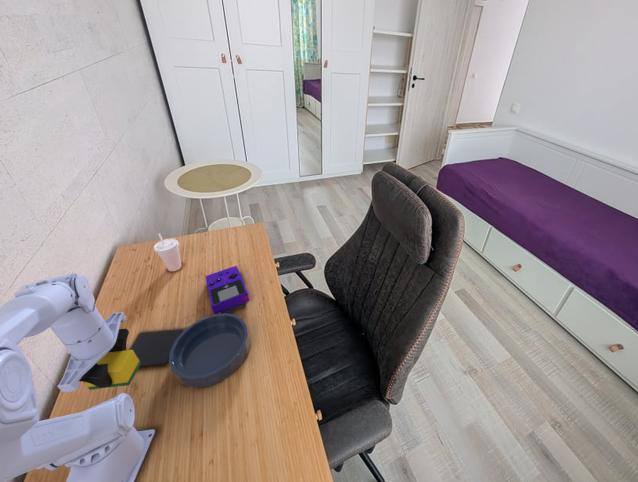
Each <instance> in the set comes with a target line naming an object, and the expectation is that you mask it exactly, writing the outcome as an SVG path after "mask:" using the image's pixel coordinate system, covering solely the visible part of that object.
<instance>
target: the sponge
mask: <svg viewBox="0 0 638 482" xmlns="http://www.w3.org/2000/svg"><path fill="white" fill-rule="evenodd" d="M97 364H98V365H99V364H108V373H109V375H110V377H111V379H112V385H111V386H109V387H101V388H99V387H97V386H95V385H93V384H90V383H87V382H82V383H83V384H84V385H85V386H86V388H87V389H88V390H101V389H107V388H117V387H124V386H125V387H126V386H130V385H131V383H132V382H133V379H134V377H135V376H136V374H137V372H138V370H139V368H141V367H140V365H141V362H140V361H139V359H138V358H137V356H136V354H135V353H134V351H133V350H130V349H128V350H127V349H126V351H116V352H107V353H106V354H105V355H104V356H103V357H102V358H101V359H100V360H99V361H98V362H97Z"/></svg>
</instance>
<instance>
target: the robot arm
mask: <svg viewBox="0 0 638 482" xmlns="http://www.w3.org/2000/svg"><path fill="white" fill-rule="evenodd" d="M13 294H14V298H12V299H9V300H8V301H6V302H5V303H3V304H2V305H1V306H0V482H7V481H9V480H12V479H14V478H16V477H19V476H21V475H23V474H26V473H29V472H30V471H33V470H39V469H46V470H48V471H55V470H57V469H59V468H60V467H62V466H65V467H66V468H70V469H69V473H68V474H67V475H68V476H67V478H66V480H65V482H135V481H136V479H137V476H138V473H139V471H140V468H141V467H142V464H143V461H144V459H145V457H146V455H147V452H148V450H149V448H150V445H151V443H152V441H153V438H154V436H155V433H156V430H155V428H154V429H153V428H152V429H151V428H150V429H145V430H137V429H136V428H135V427H134V423H135V419H136V418H135V417H136V412H135V405H134V401H133V398H132V396H131V395H129V394H127V392H121V393H119V394H118V395H116V396H114V397H112V398H109V399H108V400H105V401H103V402H101V403H99V404H97V405H94V406H92V407H90V408H89V407H88V408H87V409H85V410H83V411H79V412H76V413H70V414H67V415H61V416H57V417H52V418H48V419H43V420H40V419H41V417H40V413H39V408H40V407H39V402H38V398H37V393H36V389H35V385H34V380H33V371H32V368H31V365H30V363H29V361H28V359H27V357H26V355H25V353H24V352H23V351H22V349H21V348H20V347H19V344H20V343H21V342H22V341H23V340H24V339H26V338H30V337H34V336H37V335H39V334H41V333H43V332H45V331H46V330H48V329H49V328H50V330H51V331H52V332H53V334H55V337H57V338H58V339H59V341H60V342H61V343H62V344H63V346H64V347H65V348H66V353H67V354H68V355H70V357H69V360H68V363H67V366H66V368H65V371H64V373H63V376H62V378H61V380H60V382H59V383H58V385H57V388H58V389H59V390H60V391H61V392H62V393H71V392H77V390H78V389H79V387H80V386H81V384H80V383H79V382H81V383H83V382H87V383H90V384H93V385H95V386H97V387H99V388H101V387H109V386H111V385H112V379H111V377H110V375H109V373H108V364H99V365H98V364H97V362H98V361H99V360H100V359H101V358H102V357H103V356H104V355H105V354H106V353H107V352H116V351H126V350H127V341H128V337H129V335H130V334H129V333H130V331H129V329H128V328H120V326H121V323H124V322H125V321H126V320H127V316H126V315H125V312H124V311H120V312H119V311H118V312H112V313H111V314H110V316H108V318H106V319H104V317H103V316H102V315H101V313H100V312H99V309H98V308H97V307H96V305H95V302H96V299H95V296H94V294H93V293H92V290H91V286H90V283H89V280H88V278H87V276H85V275H84V274H82V273H79V274H77V273H76V272H70V273H67V274H63V275H59V276H54V277H50V278H46V279H42V280H38V281H35V282H31V283H30V284H23V285H22V286H21V287H20V289H19V290H17V291H15V292H14V293H13ZM109 388H110V387H109ZM101 389H102V388H101Z"/></svg>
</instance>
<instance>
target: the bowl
mask: <svg viewBox="0 0 638 482" xmlns="http://www.w3.org/2000/svg"><path fill="white" fill-rule="evenodd" d="M250 346H251V339H250V333H249V329H248V326H247V324H246V323H245V321H244V320H243V318H241V317H240V316H238V315H236V314H232V313H223V314H221V313H218V314H214V313H213V314H212V315H208V316H205V317H203V318H200V319H199V320H197V321H195V322H193V323H192V324H191V325H189V326H188V327H187V328H186V329H183V331H182V333H181V335H180V336H179V337H178V338H177V339H176V340H175V342H174V344H173V346H172V348H171V350H170V355H169V361H168V364H169V367H170V370H171V372H172V374H173V375H174V378H175V379H176V380H177V381H178V382H179V383H180V384H181V385H183V386H184V387H188V388H193V389H199V388H207V387H210V386H213V385H215V384H217V383H220V382H222V381H224V380H225V379H226V378H228V377H230V376H232V374H234V373H235V372H236V371H237V369H238V368H239V367H240V366H241V365H242V364H243V362H244V361H245V359H246V357H247V355H248V354H249V350H250Z"/></svg>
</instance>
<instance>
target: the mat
mask: <svg viewBox="0 0 638 482" xmlns="http://www.w3.org/2000/svg"><path fill="white" fill-rule="evenodd" d="M183 331H184V329H183V328H180V329H169V330H158V331H146V332H140V333H139V334H138V335H137V337H136V338H135V340H134V342H133V344H132V345H131V347H130V348H129V350H133V351H134V353H135V354H136V356H137V358H138V359H139V361H140V362H141V365H140V367H139V368H146V367H153V366H163V365H167V364H169V355H170V350H171V348H172V346H173V344H174V342H175V340H176V339H177V338H178V337H179V336H180V335H181V333H182V332H183Z"/></svg>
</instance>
